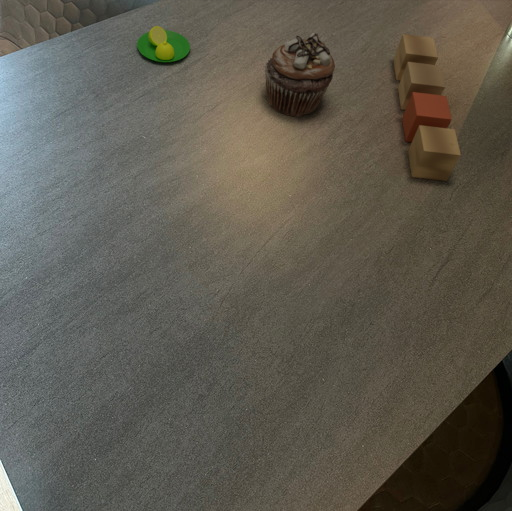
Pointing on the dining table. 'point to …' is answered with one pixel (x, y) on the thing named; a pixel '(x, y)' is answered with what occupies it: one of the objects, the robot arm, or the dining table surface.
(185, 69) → the dining table surface
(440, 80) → the maple block
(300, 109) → the cupcake
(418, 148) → the maple block
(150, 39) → the lemon
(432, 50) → the maple block
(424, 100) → the terracotta block
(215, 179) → the dining table surface
